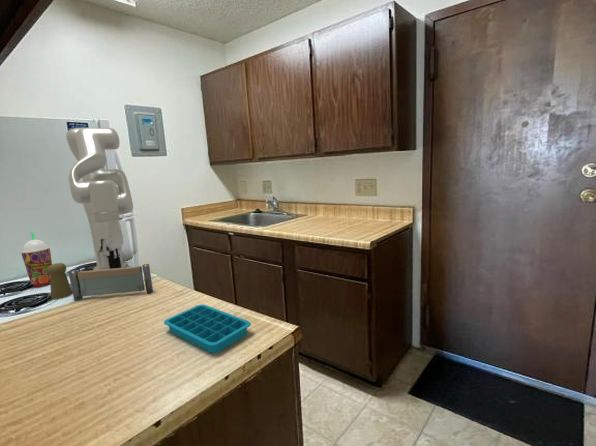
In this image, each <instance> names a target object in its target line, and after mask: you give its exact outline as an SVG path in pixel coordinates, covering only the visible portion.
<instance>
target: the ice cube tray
mask: <svg viewBox="0 0 596 446" xmlns="http://www.w3.org/2000/svg"><path fill="white" fill-rule="evenodd" d="M163 324H164V325H166V326H167V327H168V328H169V331H170V333H171V334H173V335H174V336H177V337H178V338H180V339H183V340H184V341H187V342H188V343H190V344H192V343H193V344H192V345H194V344H195V346H196V347H198V348H200V349H202V350H204V351H206V352H208V353H210V354H213V353H215V354H218V353H220V352H221V351H223V350H225V349H226V348H228V347H230V346H231V345H233V344H235V343H236V342H238V341H240V340H241V339H243V338H244V337H247V332H248V329H247V328H249V327H250V326H251V325H252V323H251V322H250V321H249V320H247V319H244V318H241V317H238V316H236V315H233V314H230V313H228V312H225V311H222V310H219V309H217V308H215V307H211V306H209V305H207V304H198V305H195V306H193V307H191V308H188V309H187V310H184V311H181V312H179V313H177V314H176V315H173V316H170V317H168V318H166V319H164V321H163Z"/></svg>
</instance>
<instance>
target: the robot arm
mask: <svg viewBox="0 0 596 446" xmlns="http://www.w3.org/2000/svg"><path fill="white" fill-rule="evenodd" d="M65 137H66V142H67V144H68V147H69V150H70V151H71V154H73V156H74V157H75V159H76V161H77V162H76V163H75V164H73V166H72V168H71V169H70V170H69V174H68V183H69V189H70V194H71V198H72V199H73V201H74V202H76V203H77V204H82V207H83V210H84V212H85V214H86V218H87V221H88V226H89V229H90V234H91V239H92V244H93V251H94V255H95V262H96V266H94V267H93V269H92V270H103V269H114V268H126V267H128V266H129V265H128V264H129V263H128V262H127V261H125V260H124V259H123V258H125V257H126V254H125V253H124V252H123V251H122V246H123V245H124V235H123V231H122V227H121V223H120V215H127V214H130V213H132V212H133V210H134V201H133V197H132V193H131V189H130V185H129V181H128V177H127V175H126V173H125V172H124V171H123V170H121V169H118V168H117V169H116V168H112V169H106V168H105V166H106V164H107V162H108V158H107V156H106V153H105V150H118V149H119V148H120V145H121V141H120V136H119V134H118V132H117V131H116V129H115V128H112V127H75V128H70V129H69V130H68V131H66V136H65ZM81 179H82V181H80V180H81ZM122 252H123V253H122Z"/></svg>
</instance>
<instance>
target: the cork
mask: <svg viewBox="0 0 596 446" xmlns="http://www.w3.org/2000/svg"><path fill="white" fill-rule="evenodd" d="M66 272H67V265H66V264H65V263H61V262H58V263H57V262H56V263H52V265H50V266H48V267H47V273H48V274H49V275H50V284H49V285H50V286H49V287H50V299H51V298H52V300H59V299H64V298H68V297H70V296H73V292H72V287H71V283H70V280H68V279H69V278H68V276H67V274H66Z"/></svg>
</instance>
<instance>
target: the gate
mask: <svg viewBox="0 0 596 446" xmlns="http://www.w3.org/2000/svg"><path fill="white" fill-rule="evenodd" d="M77 275H78V279H79V283H80V288H81V293H82V297H83V298H84V297H90V296H105V295H115V294H124V293H136V292H144V291H146V286H145V280H144V273H143V267H142V266H141V265H139V266H129V267H128V266H126V267H124V268H114V269H103V270H93V269H92V270H80V271H78V273H77Z"/></svg>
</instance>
